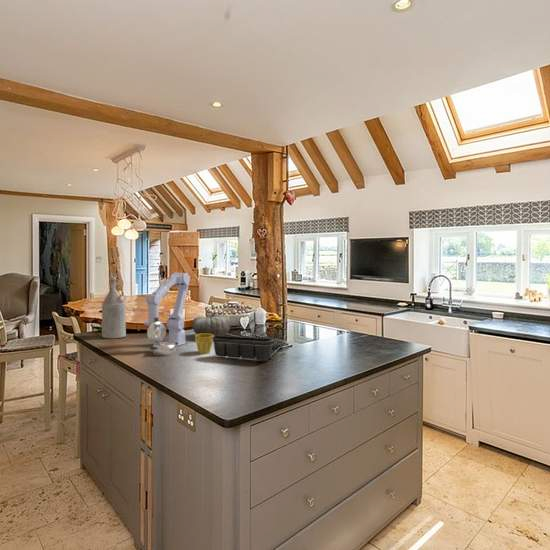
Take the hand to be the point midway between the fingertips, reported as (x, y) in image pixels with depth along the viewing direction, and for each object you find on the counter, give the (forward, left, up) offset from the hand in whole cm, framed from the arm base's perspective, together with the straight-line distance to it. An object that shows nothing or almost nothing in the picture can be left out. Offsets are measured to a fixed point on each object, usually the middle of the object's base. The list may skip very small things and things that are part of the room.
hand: (153, 338), depth 225 cm
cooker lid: (0, +4, +5) cm, 7 cm away
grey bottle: (-6, -50, -7) cm, 51 cm away
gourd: (-48, -3, -7) cm, 49 cm away
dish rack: (-35, +45, -7) cm, 57 cm away
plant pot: (-16, +25, -7) cm, 31 cm away
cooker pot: (0, +10, -7) cm, 12 cm away
